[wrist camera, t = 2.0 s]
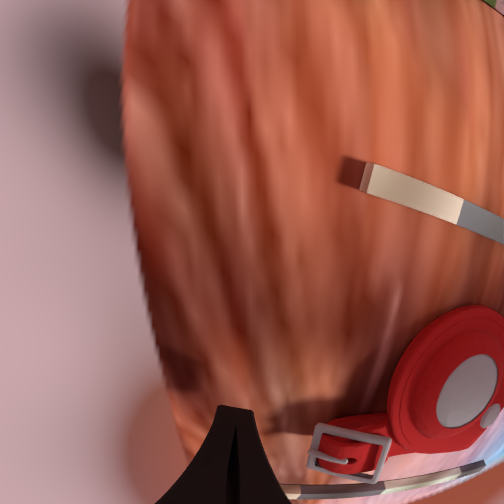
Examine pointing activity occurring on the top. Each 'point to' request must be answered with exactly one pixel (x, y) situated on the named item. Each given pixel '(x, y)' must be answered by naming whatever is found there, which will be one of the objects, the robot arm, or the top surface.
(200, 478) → the robot arm
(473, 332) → the tracker holder
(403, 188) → the track
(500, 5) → the ink box
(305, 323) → the top surface
